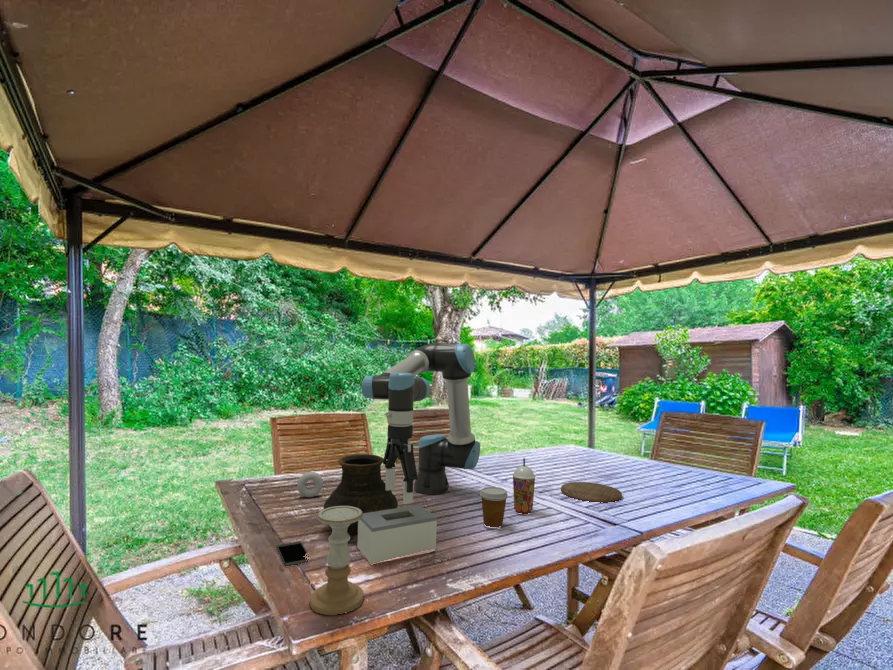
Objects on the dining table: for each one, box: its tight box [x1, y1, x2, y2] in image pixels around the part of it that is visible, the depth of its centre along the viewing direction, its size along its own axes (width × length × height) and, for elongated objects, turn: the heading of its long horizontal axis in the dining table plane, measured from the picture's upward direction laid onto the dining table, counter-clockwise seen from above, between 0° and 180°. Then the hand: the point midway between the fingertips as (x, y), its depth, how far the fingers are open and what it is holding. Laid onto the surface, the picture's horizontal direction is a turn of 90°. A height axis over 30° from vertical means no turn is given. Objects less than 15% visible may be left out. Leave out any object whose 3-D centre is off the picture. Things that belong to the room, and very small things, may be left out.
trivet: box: [560, 481, 623, 504], centre depth 192 cm, size 25×25×2 cm
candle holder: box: [309, 506, 365, 616], centre depth 104 cm, size 12×12×20 cm
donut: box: [296, 471, 324, 498], centre depth 178 cm, size 10×4×10 cm, turn 109°
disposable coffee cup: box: [479, 486, 509, 527], centre depth 152 cm, size 10×10×12 cm
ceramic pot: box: [323, 453, 399, 533], centre depth 148 cm, size 24×24×22 cm
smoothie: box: [512, 457, 536, 514], centre depth 166 cm, size 8×8×20 cm
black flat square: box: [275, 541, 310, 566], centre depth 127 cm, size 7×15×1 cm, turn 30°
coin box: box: [356, 504, 438, 564], centre depth 131 cm, size 20×12×10 cm, turn 119°
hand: (398, 496), depth 132 cm, fingers open, 13 cm apart
